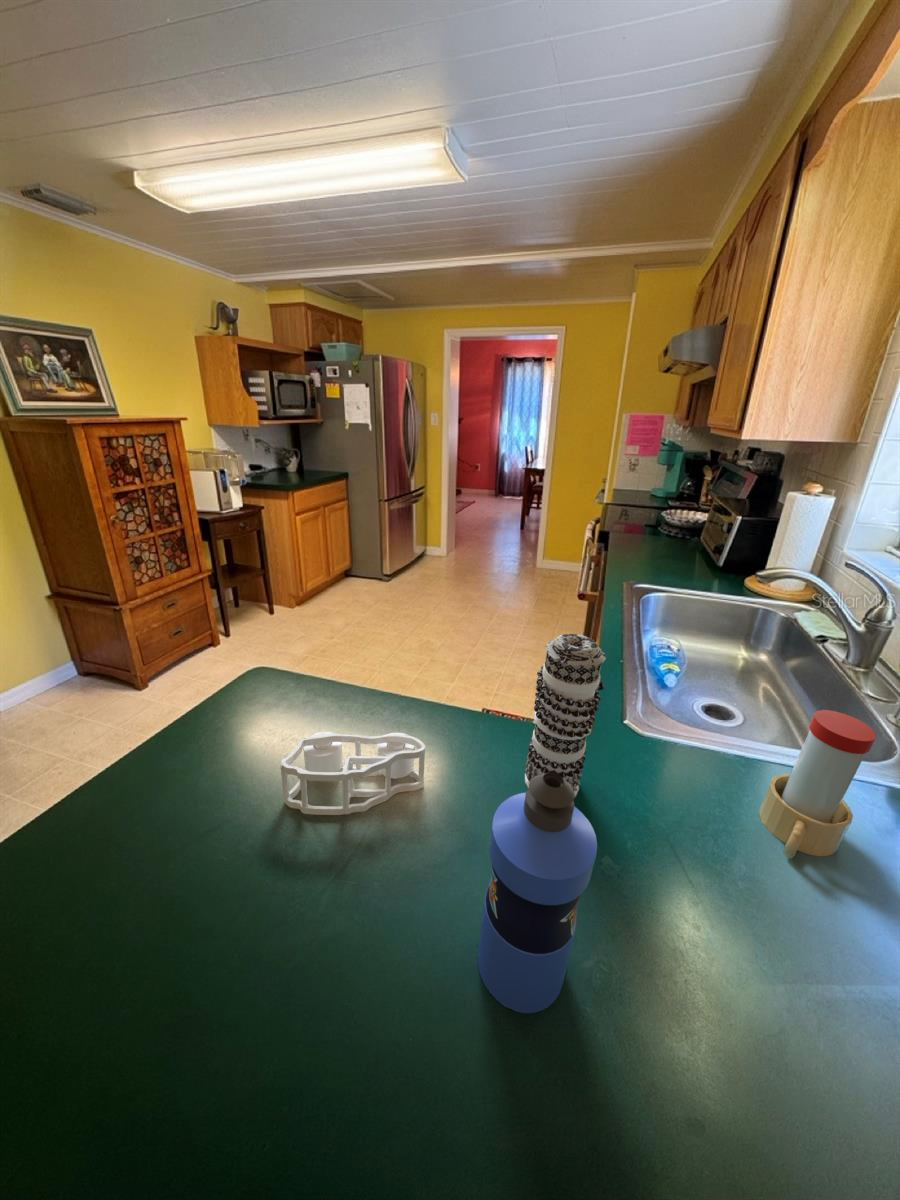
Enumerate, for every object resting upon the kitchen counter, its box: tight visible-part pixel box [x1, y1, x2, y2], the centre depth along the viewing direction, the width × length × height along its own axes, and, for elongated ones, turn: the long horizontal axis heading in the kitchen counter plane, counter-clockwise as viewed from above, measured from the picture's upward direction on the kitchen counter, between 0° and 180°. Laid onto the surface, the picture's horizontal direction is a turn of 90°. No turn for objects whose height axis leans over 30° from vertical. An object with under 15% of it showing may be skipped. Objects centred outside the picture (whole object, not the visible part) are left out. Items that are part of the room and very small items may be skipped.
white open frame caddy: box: [280, 731, 427, 816], centre depth 70 cm, size 20×11×7 cm, turn 93°
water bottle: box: [477, 772, 598, 1014], centre depth 45 cm, size 9×9×25 cm
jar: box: [781, 709, 877, 824], centre depth 64 cm, size 6×6×18 cm
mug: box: [758, 773, 854, 859], centre depth 66 cm, size 12×9×6 cm
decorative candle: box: [524, 633, 607, 799], centre depth 69 cm, size 9×9×25 cm
